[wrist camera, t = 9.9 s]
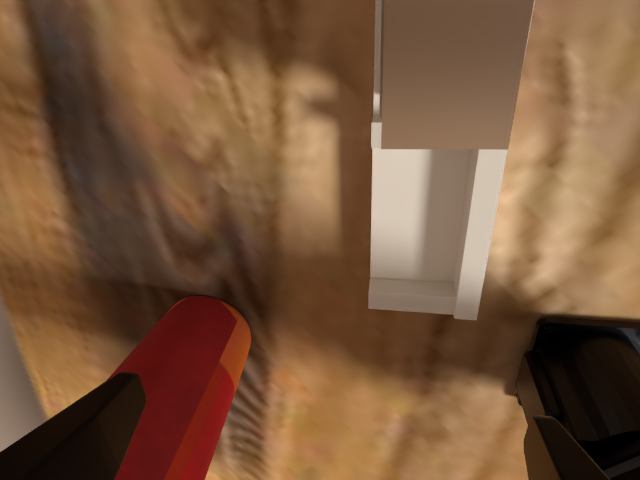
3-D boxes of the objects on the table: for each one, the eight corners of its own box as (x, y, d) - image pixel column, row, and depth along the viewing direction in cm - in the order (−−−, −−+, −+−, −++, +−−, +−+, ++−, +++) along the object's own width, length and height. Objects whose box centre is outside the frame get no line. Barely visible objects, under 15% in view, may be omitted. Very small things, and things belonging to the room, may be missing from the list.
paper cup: (130, 311, 27) (-86, 557, 15) (210, 260, 24) (18, 520, 12) (211, 387, 29) (81, 652, 17) (293, 349, 26) (204, 641, 14)
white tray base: (536, -149, 13) (568, -185, 11) (467, 282, 22) (476, 320, 19) (380, -133, 14) (375, -163, 12) (371, 277, 23) (368, 312, 20)
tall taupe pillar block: (390, -78, 14) (383, -140, 8) (488, -86, 13) (562, -160, 7) (385, 96, 16) (377, 149, 10) (467, 94, 16) (508, 149, 10)
